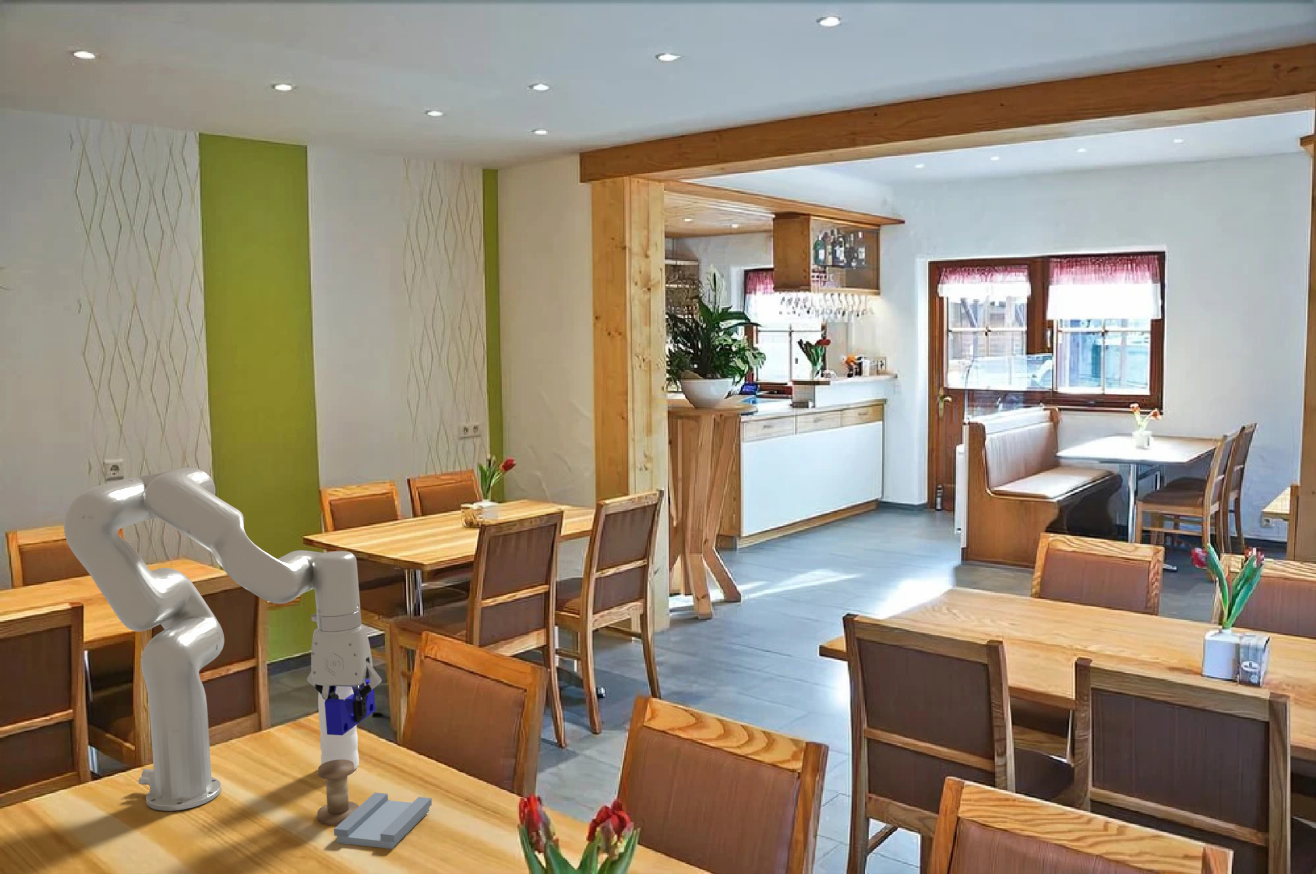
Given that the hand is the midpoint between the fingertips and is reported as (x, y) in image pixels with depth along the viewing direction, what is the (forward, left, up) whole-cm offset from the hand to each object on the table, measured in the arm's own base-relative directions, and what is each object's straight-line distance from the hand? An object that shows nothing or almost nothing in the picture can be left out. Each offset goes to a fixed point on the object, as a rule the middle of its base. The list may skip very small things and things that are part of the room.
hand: (347, 718), depth 192 cm
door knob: (+1, -7, -15) cm, 17 cm away
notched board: (+11, -9, -15) cm, 21 cm away
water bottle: (-9, +11, -15) cm, 21 cm away
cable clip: (0, 0, -1) cm, 1 cm away
